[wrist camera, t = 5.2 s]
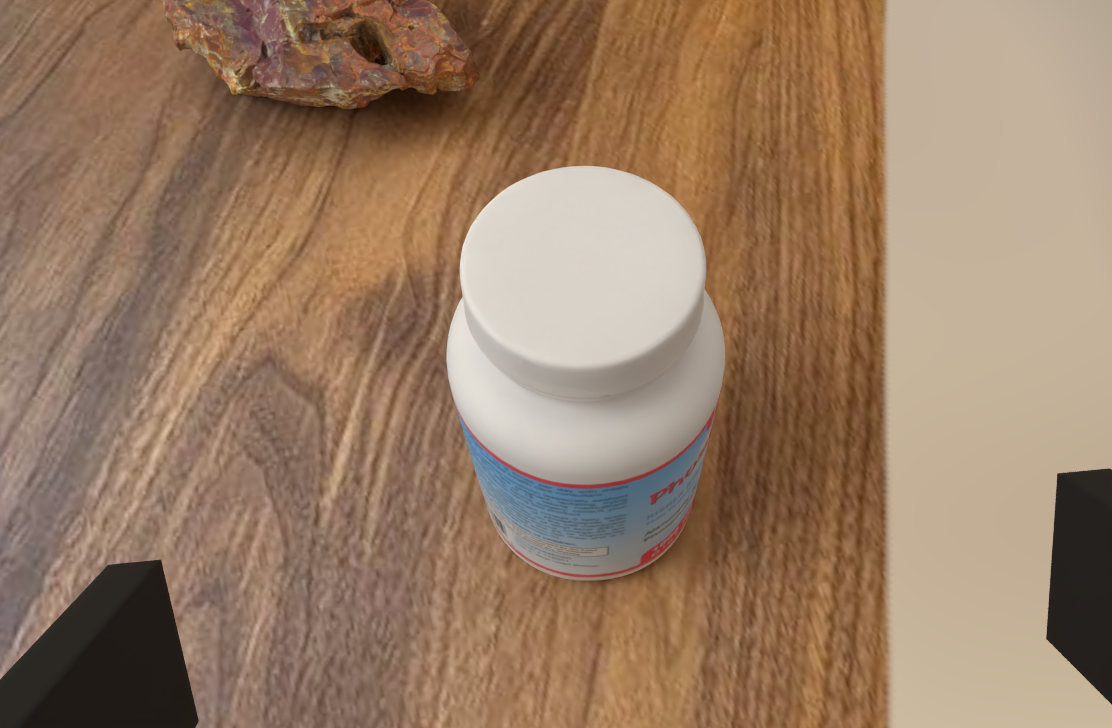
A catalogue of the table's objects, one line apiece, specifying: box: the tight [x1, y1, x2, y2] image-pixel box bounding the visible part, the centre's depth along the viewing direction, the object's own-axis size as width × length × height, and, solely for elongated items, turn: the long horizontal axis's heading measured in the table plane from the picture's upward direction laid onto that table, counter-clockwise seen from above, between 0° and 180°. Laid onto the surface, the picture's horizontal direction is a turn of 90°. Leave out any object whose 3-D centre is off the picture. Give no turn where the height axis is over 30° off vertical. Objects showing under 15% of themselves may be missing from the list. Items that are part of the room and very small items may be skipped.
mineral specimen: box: [163, 0, 479, 109], centre depth 33 cm, size 12×8×7 cm
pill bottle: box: [447, 166, 725, 581], centre depth 21 cm, size 6×6×11 cm
